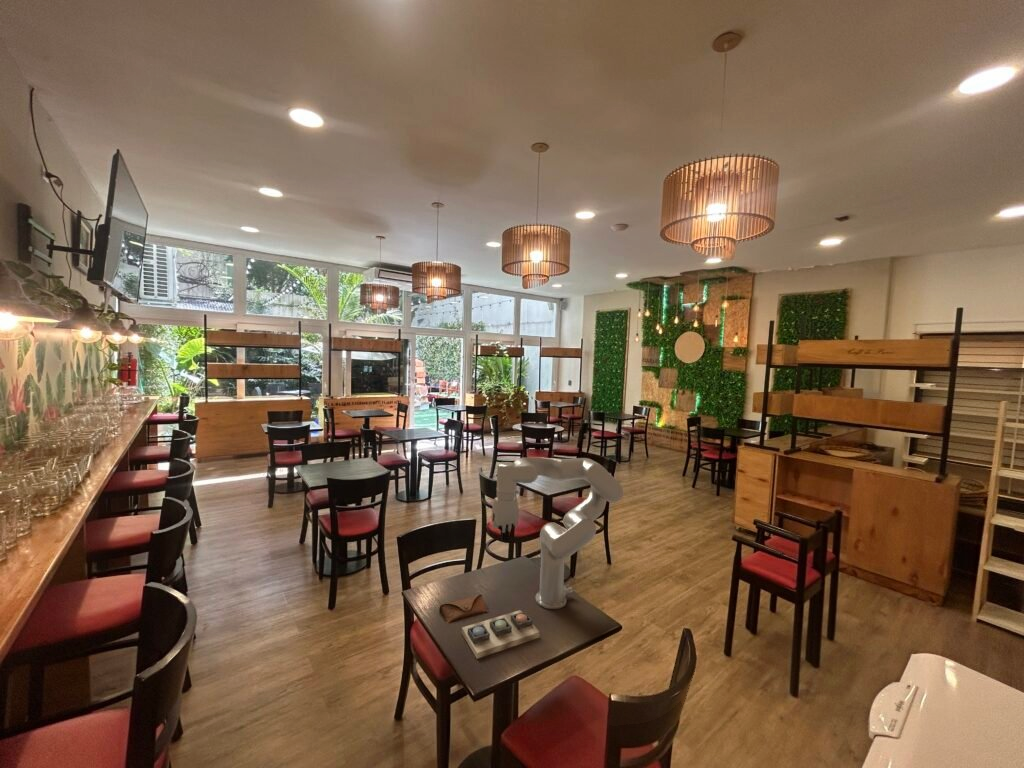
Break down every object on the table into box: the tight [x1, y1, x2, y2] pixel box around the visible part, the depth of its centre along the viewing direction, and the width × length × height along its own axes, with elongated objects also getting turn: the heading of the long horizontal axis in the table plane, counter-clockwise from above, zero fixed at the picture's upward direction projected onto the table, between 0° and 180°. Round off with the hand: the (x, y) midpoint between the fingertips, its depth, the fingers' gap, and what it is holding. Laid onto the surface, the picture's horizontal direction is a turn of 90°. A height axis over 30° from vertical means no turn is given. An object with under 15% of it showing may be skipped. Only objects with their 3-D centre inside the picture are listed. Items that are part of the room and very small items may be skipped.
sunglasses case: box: [438, 594, 490, 625], centre depth 160 cm, size 18×7×7 cm, turn 119°
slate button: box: [473, 627, 484, 637], centre depth 143 cm, size 4×4×2 cm
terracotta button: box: [516, 614, 527, 623], centre depth 151 cm, size 4×4×2 cm
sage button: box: [495, 620, 506, 630], centre depth 147 cm, size 4×4×2 cm
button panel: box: [461, 609, 541, 659], centre depth 147 cm, size 24×14×4 cm, turn 118°
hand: (504, 540), depth 161 cm, fingers closed
